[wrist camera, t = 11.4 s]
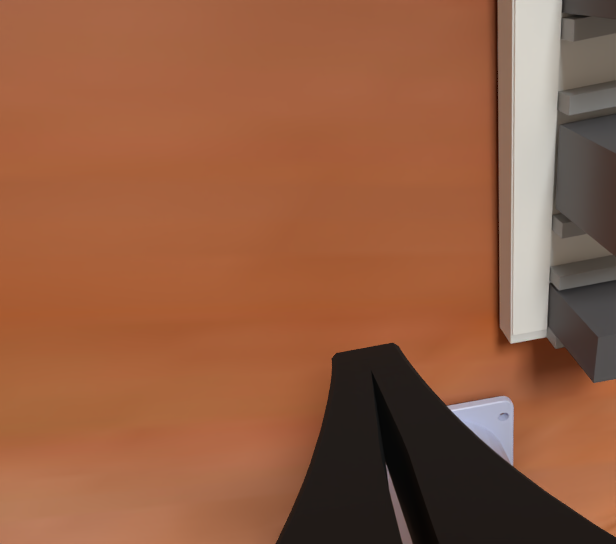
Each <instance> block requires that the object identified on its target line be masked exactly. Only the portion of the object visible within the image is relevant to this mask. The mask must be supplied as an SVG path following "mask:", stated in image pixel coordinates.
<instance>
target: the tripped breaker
mask: <svg viewBox="0 0 616 544" xmlns="http://www.w3.org/2000/svg"><path fill="white" fill-rule="evenodd" d="M556 209H557V210H559V211H560V212H561V213H562V214H564V215H565V216H566V217H567V218H568V219H570V220H571V221H572V222H573V223H575V224H576V225H577V226H578V227H580V228H581V229H582V230H583V231H584V232H586V233H587V234H588V235H589V236H591V237H592V238H593V239H594V240H596V241H597V242H598V243H599V244H600V245H602V246H603V247H604V248H605V249H607V250H608V251H609V252H610V253H611V254H613V255H614V256H615V257H616V114H611V115H606V116H601V117H595V118H590V119H585V120H580V121H575V122H570V123H565V124H560V126H559V147H558V167H557V187H556Z"/></svg>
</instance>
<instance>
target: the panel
mask: <svg viewBox="0 0 616 544" xmlns="http://www.w3.org/2000/svg"><path fill="white" fill-rule="evenodd" d="M611 114H616V0H498V137H499V285H500V328H501V330H502V331H503V333H504V334H505V336H506V337H507V339H508V341H509V342H510V344H512V343H517V342H523V341H528V340H534V339H539V338H545V337H547V338H548V340H549V341H550V342H551V344H552V345H553V346H554V348H555V349H558V348H563V347H565V348H566V349H567V350H568V351H569V353H570V354H571V355H572V356H573V358H574V359H575V360H576V361H577V363H578V364H579V365H580V366H581V368H582V369H583V370H584V371H585V373H586V374H587V375H588V377H589V378H590V379H591V380H592V382H593V383H596V382H601V381H607V380H612V379H616V257H615V256H614V255H613V254H611V253H610V252H609V251H608V250H607V249H605V248H604V247H603V246H602V245H600V244H599V243H598V242H597V241H596V240H594V239H593V238H592V237H591V236H589V235H588V234H587V233H586V232H584V231H583V230H582V229H581V228H580V227H578V226H577V225H576V224H575V223H573V222H572V221H571V220H570V219H568V218H567V217H566V216H565V215H564V214H562V213H561V212H560V211H559V210H557V209H556V187H557V167H558V147H559V126H560V124H565V123H570V122H575V121H580V120H585V119H590V118H595V117H601V116H606V115H611Z"/></svg>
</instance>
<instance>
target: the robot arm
mask: <svg viewBox="0 0 616 544" xmlns="http://www.w3.org/2000/svg"><path fill="white" fill-rule="evenodd" d="M502 413H504V414H502ZM500 414H502V415H500ZM513 423H514V406H513V403H512V401H511V400H510V399H509V398H508V397H506V396H499V397H494V398H488V399H482V400H477V401H471V402H466V403H460V404H455V405H449V406H446V404H445V403H444V402H443V401H442V400H441V399H440V398H439V397H438V396H437V395H436V394H435V393H434V392H433V391H432V389H431V388H430V387H429V386H428V385H427V384H426V382H425V381H424V380H423V379H422V378H421V376H420V375H419V374H418V373H417V372H416V370H415V369H414V368H413V366H412V365H411V364H410V362H409V361H408V360H407V358H406V357H405V355H404V354H403V353H402V351H401V349H400V348H399V346H397V345H396V344H394V343H389V344H383V345H378V346H373V347H367V348H362V349H356V350H351V351H346V352H340V353H336V354H335V355H334V356H333V358H332V376H331V384H330V390H329V396H328V401H327V406H326V410H325V414H324V418H323V423H322V427H321V430H320V434H319V437H318V440H317V444H316V447H315V450H314V453H313V456H312V459H311V463H310V465H309V468H308V471H307V474H306V476H305V479H304V482H303V484H302V487H301V489H300V492H299V494H298V496H297V499H296V501H295V504H294V506H293V508H292V511H291V513H290V515H289V517H288V519H287V521H286V523H285V525H284V527H283V530H282V532H281V534H280V536H279V538H278V540H277V542H276V544H616V537H614V536H613V535H611V534H609V533H608V532H606V531H604V530H603V529H601V528H600V527H598V526H596V525H595V524H593V523H592V522H590V521H589V520H587V519H586V518H584V517H583V516H581V515H580V514H578V513H577V512H575V511H574V510H573V509H571V508H570V507H568V506H567V505H565V504H564V503H562V502H561V501H559V500H558V499H556V498H555V497H553V496H552V495H550V494H549V493H547V492H546V491H544V490H543V489H542V488H540V487H539V486H538V485H536V484H535V483H534V482H532V481H531V480H530V479H529V478H527V477H526V476H525V475H523V474H522V473H521V472H519V471H518V470H517V469H516V468H514V467H513Z"/></svg>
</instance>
